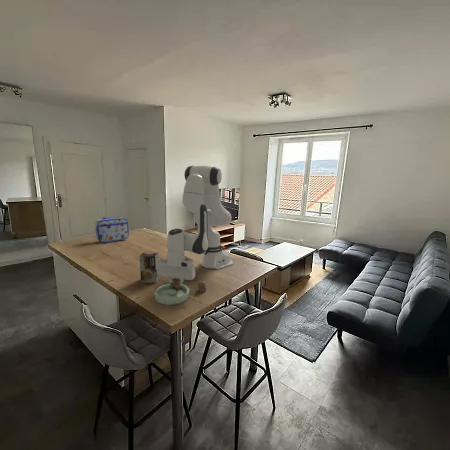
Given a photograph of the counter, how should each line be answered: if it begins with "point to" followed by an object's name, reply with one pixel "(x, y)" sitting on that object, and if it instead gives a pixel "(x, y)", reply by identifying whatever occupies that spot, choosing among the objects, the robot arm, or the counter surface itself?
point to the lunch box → (111, 229)
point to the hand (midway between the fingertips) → (176, 285)
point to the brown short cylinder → (201, 286)
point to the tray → (171, 294)
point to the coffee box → (149, 267)
